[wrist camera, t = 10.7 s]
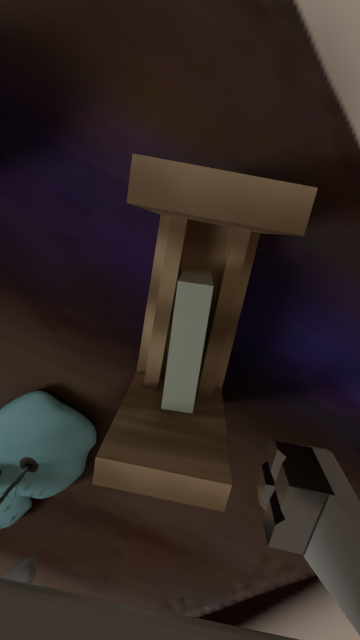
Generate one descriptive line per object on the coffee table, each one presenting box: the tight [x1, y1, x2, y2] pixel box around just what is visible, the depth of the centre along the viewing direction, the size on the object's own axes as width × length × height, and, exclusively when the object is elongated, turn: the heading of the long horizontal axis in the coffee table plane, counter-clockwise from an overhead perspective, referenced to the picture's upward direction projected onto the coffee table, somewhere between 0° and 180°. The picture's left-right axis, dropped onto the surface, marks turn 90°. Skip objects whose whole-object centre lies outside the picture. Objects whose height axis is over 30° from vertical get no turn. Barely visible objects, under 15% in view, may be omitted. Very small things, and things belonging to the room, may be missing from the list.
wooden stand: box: [92, 154, 318, 512], centre depth 21 cm, size 18×8×12 cm, turn 170°
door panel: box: [161, 268, 214, 413], centre depth 23 cm, size 9×2×7 cm, turn 172°
